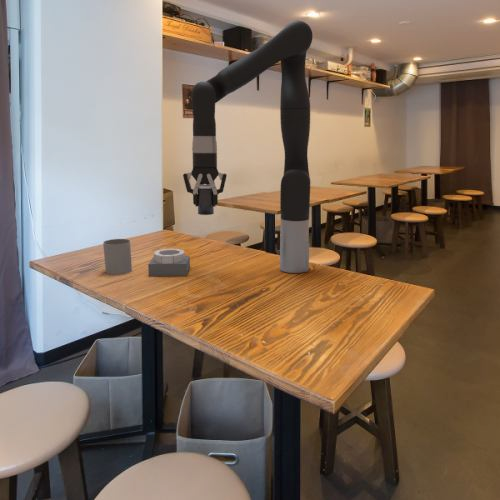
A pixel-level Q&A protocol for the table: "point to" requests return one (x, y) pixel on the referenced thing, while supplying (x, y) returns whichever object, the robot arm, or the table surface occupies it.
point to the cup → (117, 256)
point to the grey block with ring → (169, 263)
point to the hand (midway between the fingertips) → (205, 205)
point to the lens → (205, 200)
